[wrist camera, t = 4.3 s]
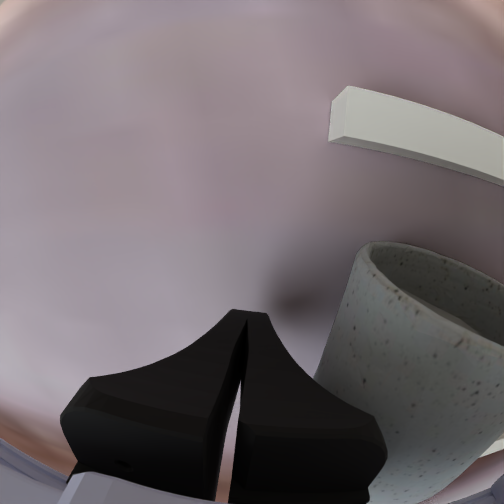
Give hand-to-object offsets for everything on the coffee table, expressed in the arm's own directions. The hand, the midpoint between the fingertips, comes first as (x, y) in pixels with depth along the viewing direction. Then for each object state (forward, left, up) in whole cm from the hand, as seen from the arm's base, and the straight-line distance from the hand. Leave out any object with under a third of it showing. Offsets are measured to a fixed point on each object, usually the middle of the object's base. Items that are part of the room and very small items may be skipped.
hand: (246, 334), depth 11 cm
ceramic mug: (0, -7, -2) cm, 8 cm away
